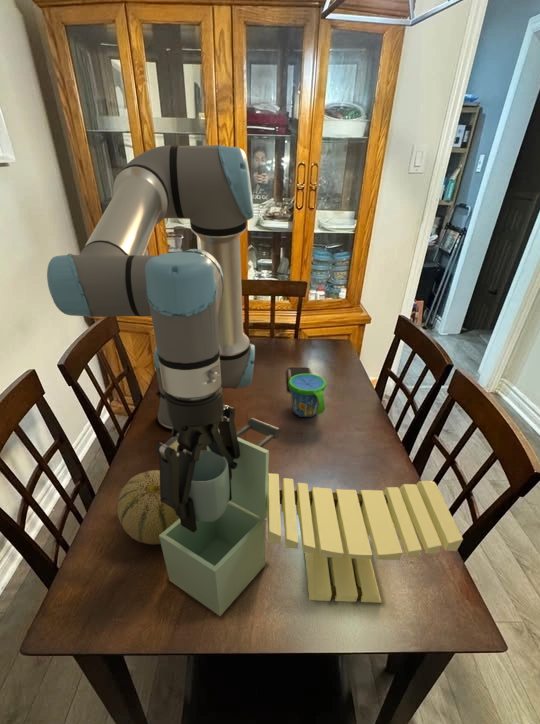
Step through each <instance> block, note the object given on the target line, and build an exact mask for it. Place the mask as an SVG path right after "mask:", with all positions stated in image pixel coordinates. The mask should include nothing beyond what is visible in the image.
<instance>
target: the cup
mask: <svg viewBox="0 0 540 724" xmlns="http://www.w3.org/2000/svg"><path fill="white" fill-rule="evenodd" d="M189 452H190V451H189ZM190 453H192V452H190ZM229 494H230V483H229V468H228V462H227V459H226V458H225V457H224V456H223V457H222V456H219V455H217V454H215V453H214V452H212V451H208V450H207V449H204V450H203V449H202V450H201V452H200V457H199V460H198V461H196V463H195V468H194V473H193V478H192V481H191V488H190V493H189V498H190V499H192V500H193V505H194V513H195V520H196V521H198V522H203V523H209V522H214V521H216V520H218V519H219V518H221V517H222V516H223V514H224V513H225V511H226V509H227V507H228V503H229Z"/></svg>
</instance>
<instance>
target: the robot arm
mask: <svg viewBox="0 0 540 724" xmlns="http://www.w3.org/2000/svg"><path fill="white" fill-rule="evenodd" d="M250 175H251V174H250V169H249V162H248V157H247V154H246V152H245V151H244V150H243V149H242V148H240V147H238V146H227V145H222V144H208V145H207V144H204V145H201V144H200V145H161V146H156V147H153V148H150V149H148V150H146V151H143V152H142V153H140V154H139V155H137V156H135V157H134V158H132V159H131V160H130V161H129V162H128V163H126V164H125V165H124V167H123V168H122V169H121V170H120V171H119V172H118V174H117V176H116V177H115V179H114V183H113V187H112V194H113V196H112V198H111V200H110V202H109V203H108V205H107V207H106V208H105V210H104V212H103V214H102V215H101V217H100V218H99V220H98V222H97V224H96V226H95V227H94V228H93V230H92V233H91V235H90V236H89V238H88V239H87V241H86V243H85V245H84V247H83V249H82V250H81V252H80V253H79V254H73V253H68V254H64V255H63V254H62V255H55V256H53V257H52V258H51V259H50V261H49V262H48V265H47V269H46V280H47V281H46V282H47V287H48V290H49V293H50V294H49V295H50V296H51V299H52V301H53V303H54V305H55V306H56V308H57V309H58V311H60V312H61V313H62V314H64V315H67V316H71V317H72V316H73V317H74V316H75V317H88V318H89V319H91V318H100V317H101V318H102V317H105V318H106V317H108V318H109V317H110V318H111V317H113V318H114V317H115V318H116V317H117V318H118V317H143V318H145V317H146V318H147V317H148V318H150V317H151V322H152V327H153V333H154V334H153V335H154V338H155V344H156V346H155V348H154V350H153V360H154V367H155V373H156V378H157V384H158V388H157V391H158V393H159V395H160V396H159V397H160V398H159V407H158V410H157V421H158V424H159V426H160V427H162V428H163V429H165V430H167V431H171V433H170V434H171V435H170V436H171V437H170V438H169V439H168V440H167V441H166V442H165V443H162V442H157V443H156V444H155V446H154V447H155V452H156V454H157V457H158V461H159V462H158V463H159V465H158V467H159V470H160V498H161V502H163V503H165V504H166V505H168V506H170V507H171V508H173V509H175V513H176V515H177V516H179V517H180V521H181V525H182V526H183V527H185V528H187V529H188V530H190V531H192V532H193V533H194V532H195V531H196V530H197V527H196V520H195V513H194V505H193V500H192V499H190V498H189V493H190V488H191V481H192V478H193V473H194V468H195V463H196V461H198V460H199V457H200V452H201V450H203V449H204V448H205V447H207V446H208V447H209V448H210V450H211V451H212V452H214V453H215V454H217V455H219V456H222V457H223V456H224V457H225V458H226V459H227V462H228V468H229V483H230V494H229V501H230V500H231V499H232V495H231V479H232V469H235V468H236V467H237V463H236V462H234V461H233V460H234V459H235V458H236V459H238V458H239V457H240V449H239V444H238V439H237V434H236V432H237V428H236V424H235V418H236V417H235V416H236V409H235V408H234V407H232V406H229V405H226V404H224V394H223V392H224V391H223V389H234V390H237V389H246V388H249V387H250V385H252V382H253V377H254V376H253V375H254V368H255V357H256V347H255V344H253V343H250V338H249V336H247V334H246V333H244V313H243V289H242V288H243V287H242V286H243V285H242V284H243V283H242V261H241V260H242V259H241V257H242V255H241V236H242V235H243V234H244V233H245V232H246V230H247V228H248V221H249V220H251V219H254V213H255V212H254V203H253V190H252V183H251V176H250ZM163 219H181V220H182V219H186V220H189V222H190V223H189V224H190V225H189V226H190V230H191V232H192V233H193V234H195V236H197V237H198V239H199V248H200V249H199V248H191V249H190V248H189V249H187V250H184V251H177V252H175V251H174V252H167V253H160V254H158V255H154V254H153V255H149V254H148V255H146V254H145V253H146V250H147V248H148V245H149V242H150V241H151V240H150V239H151V237H152V235H153V232H154V229H155V226H156V225H159V224H160V223H161V222H162V221H163ZM218 430H219V431H218ZM219 432H220V433H219ZM190 452H192V453H190Z"/></svg>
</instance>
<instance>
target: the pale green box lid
mask: <svg viewBox="0 0 540 724" xmlns="http://www.w3.org/2000/svg"><path fill="white" fill-rule="evenodd" d="M249 430H253V431H254V432H257V433H258V434H262V435H264V436H265V438H263V439H262V440H261V441H259V442H258V443H257V444H254V443H252V442H251V441H247V440H245V439H243V438H241V436H243V435H244V434H246V433H247V432H248V431H249ZM218 431H219V430H218ZM219 433H220V432H219ZM236 434H237V439H238V444H239V449H240V457H239V458H238V459H236V458H235V459H234V460H233V461H234V462H236V463H237V467H236V468H235V469H232V479H231V495H232V499H231V500H230V501H231V502H233V503H235V504H236V505H238V506H240V507H242V508H244V509H246V510H248V511H250V512H252V513H253V514H255V515H257V516H259V517H261V518H263V519H265V520H266V518H268V511H267V503H268V473H269V466H270V465H269V462H270V451H269V450H268V449H266V448H264V447H265V446H266V445H267V444H269V443H270V442H271V441H272V440H273V439H274V440H279V438H280V437H281V435H282V429H281V428H279V427H277V426H276V425H275V426H274V425H272V424H269V423H267V422H264V421H262V420H259V419H257V418H255V417H250V418H249V419H248V421H247V424H246V425H244V426H243V427H242V428H240V429H239V430H236ZM206 450H208V451H211V450H210V448H209V447H208V446H206Z"/></svg>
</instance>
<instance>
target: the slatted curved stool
mask: <svg viewBox="0 0 540 724" xmlns="http://www.w3.org/2000/svg"><path fill="white" fill-rule="evenodd" d="M279 476H280V475H279V473H270V472H268V503H267V543H268V544H273V545H275V544H276V545H279V544H280V545H281V540H282V523H281V522H282V521H281V512H282V514H283V515H282V517H283V525H284V526H283V527H284V543H285V546H284V547H285V549H298V547H299V532H298V524H299V530H300V540H301V551H302V553H304V557H305V568H306V579H307V588H308V589H307V591H308V600H309V601H326V602H330V601H331V600H332V599H334V601H335V602H352V603H353V602H355V603H356V602H357V600H360V602H361V603H378V604H379V603H383V602H382V598H381V595H380V591H379V586H378V583H377V579H376V578H377V577H376V574H375V571H374V566H373V563H372V557H373V551H372V547H373V550H374V554H375V559H376V560H387V561H401V558H402V556H403V553H404V552H405V555H406V557H408V558H419V557H420V554H421V553H422V548H423V551H424V553H425V555H438V554H439V552H440V550H441V548H442V547H443V549H444V551H448V552H457V551H458V549H459V548H460V546H461V544H462V543H463V541H464V538H463V536H462V534H461V532H460V530H459V528H458V526H457V523H456V522H455V519H454V518H453V516H452V513H451V511H450V510H449V507H448V505H447V503H446V501H445V499H444V497H443V495H442V493H441V491H440V489H439V487H438V485H437V483H436V482H435V481H434V480H433V481H432V480H419V481H417V483H416V484H414V483H403V484H401V486H400V487H399V486H398V487H397V486H386V488H385V489H384V490H382V489H375V490H374V489H360V491H359V493H357V492H358V491H357V490H356V489H343V488H342V489H341V488H340V489H339V488H336V489H335V490H334V492H333V490H332V488H330V487H329V488H328V487H327V488H326V487H317V486H312V487H311V488H310V490H309V485H308V484H309V483H305V482H297V483H296V488H295V484H294V479H293V478H288V477H283V478H282V481H281V488H280V477H279ZM297 517H298V519H297ZM297 520H298V521H297ZM298 522H299V523H298ZM397 533H398V534H397ZM398 536H399V537H398ZM369 538H370V540H371V543H370V540H369ZM419 540H420V541H419ZM371 544H372V547H371ZM401 544H402V546H401ZM421 545H422V546H421ZM402 548H403V549H402ZM403 550H404V552H403ZM328 562H329V563H328ZM329 568H330V571H329ZM330 575H331V579H330ZM331 582H332V585H331ZM356 584H357V585H356Z"/></svg>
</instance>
